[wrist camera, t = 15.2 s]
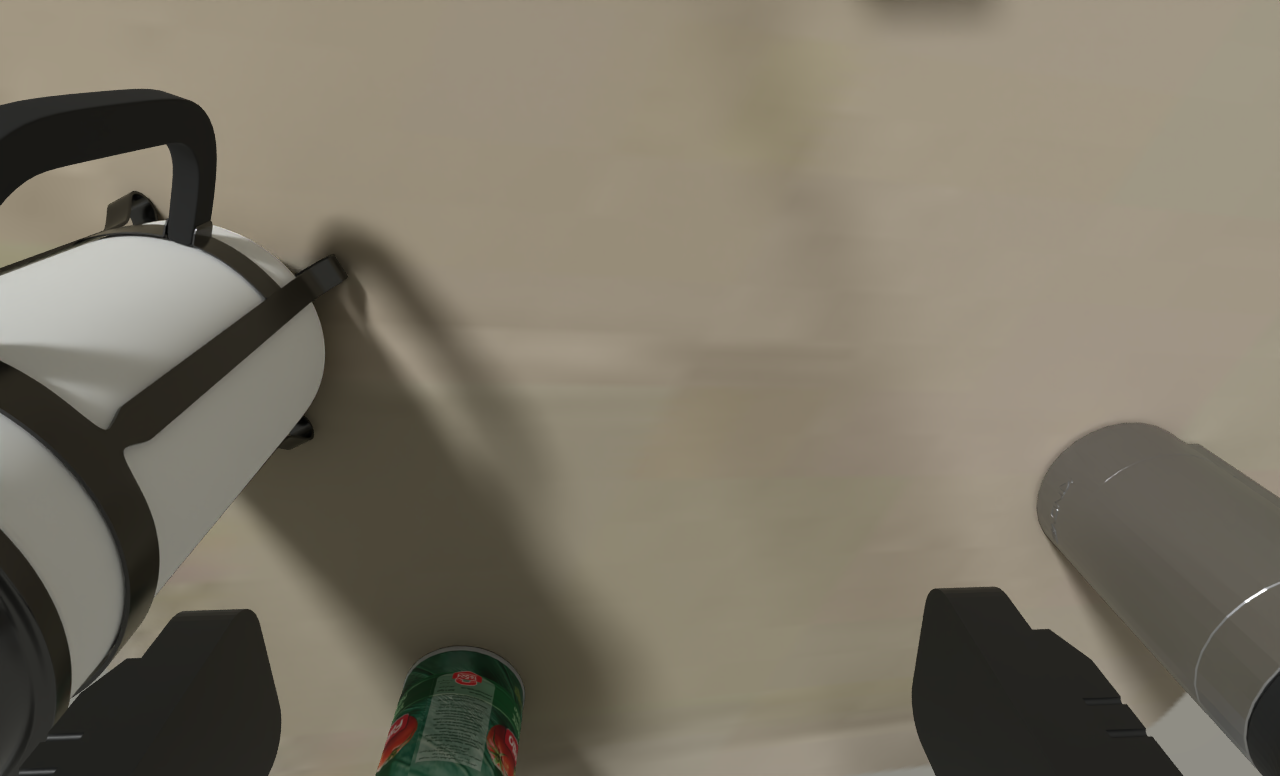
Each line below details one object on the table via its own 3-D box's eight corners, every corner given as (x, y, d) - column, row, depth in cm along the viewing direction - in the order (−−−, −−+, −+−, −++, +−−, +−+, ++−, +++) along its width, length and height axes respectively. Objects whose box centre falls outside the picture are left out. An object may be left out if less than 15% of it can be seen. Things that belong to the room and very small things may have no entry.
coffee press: (436, 388, 44) (148, 964, 16) (182, 485, 46) (-466, 1154, 18) (267, 72, 37) (-691, 139, 10) (-22, 198, 39) (-1530, 560, 11)
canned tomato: (384, 661, 51) (330, 812, 41) (502, 632, 51) (476, 779, 40) (429, 749, 54) (388, 910, 44) (540, 723, 54) (525, 880, 44)
